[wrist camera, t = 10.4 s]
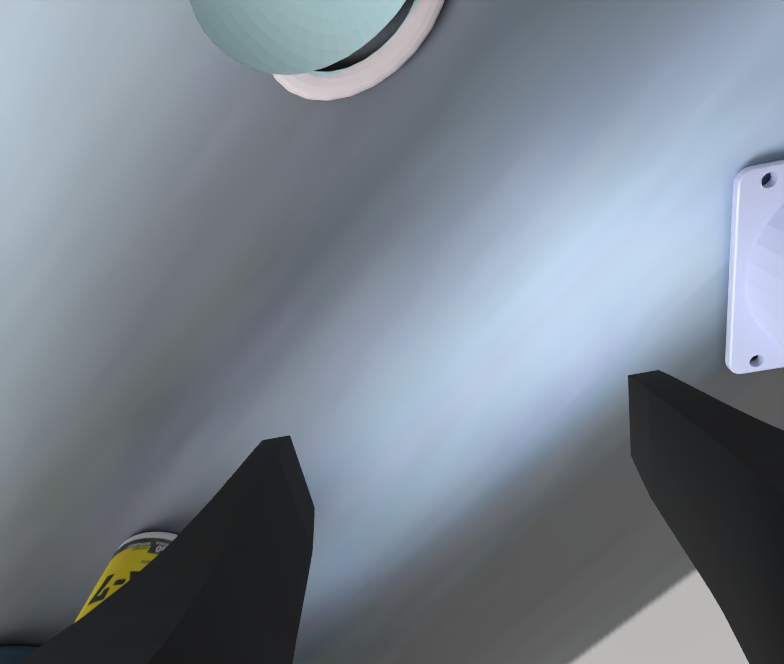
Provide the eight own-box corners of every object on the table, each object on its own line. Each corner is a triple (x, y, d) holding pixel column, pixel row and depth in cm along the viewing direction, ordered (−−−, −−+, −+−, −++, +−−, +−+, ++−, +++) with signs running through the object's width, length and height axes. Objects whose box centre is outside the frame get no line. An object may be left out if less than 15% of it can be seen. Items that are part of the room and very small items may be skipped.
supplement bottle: (213, 532, 27) (141, 715, 20) (215, 602, 29) (151, 792, 22) (110, 523, 27) (-2, 703, 20) (120, 594, 29) (21, 782, 22)
